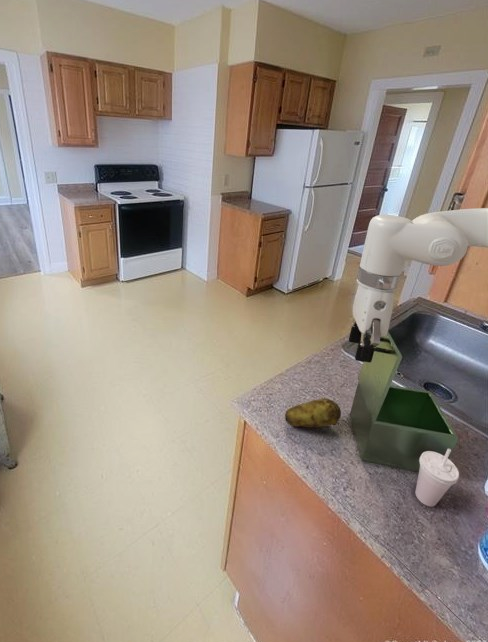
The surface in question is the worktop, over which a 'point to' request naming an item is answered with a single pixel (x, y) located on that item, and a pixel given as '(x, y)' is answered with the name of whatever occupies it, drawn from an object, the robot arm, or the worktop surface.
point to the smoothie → (435, 477)
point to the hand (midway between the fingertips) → (359, 350)
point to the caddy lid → (379, 374)
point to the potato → (314, 413)
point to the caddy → (401, 428)
